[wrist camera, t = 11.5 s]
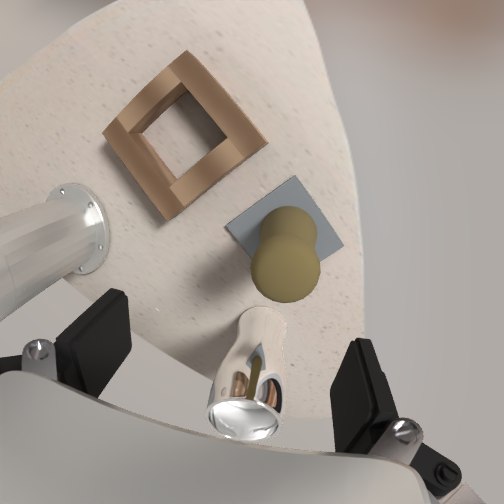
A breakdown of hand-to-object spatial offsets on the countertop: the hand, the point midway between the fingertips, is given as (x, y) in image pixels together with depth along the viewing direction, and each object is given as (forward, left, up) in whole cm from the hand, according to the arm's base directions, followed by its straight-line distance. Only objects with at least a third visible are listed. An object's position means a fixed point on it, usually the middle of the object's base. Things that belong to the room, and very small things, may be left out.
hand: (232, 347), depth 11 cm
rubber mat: (0, -2, -21) cm, 21 cm away
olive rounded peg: (+1, -2, -21) cm, 21 cm away
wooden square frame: (-2, +13, -21) cm, 25 cm away
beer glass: (-9, -10, -21) cm, 25 cm away
